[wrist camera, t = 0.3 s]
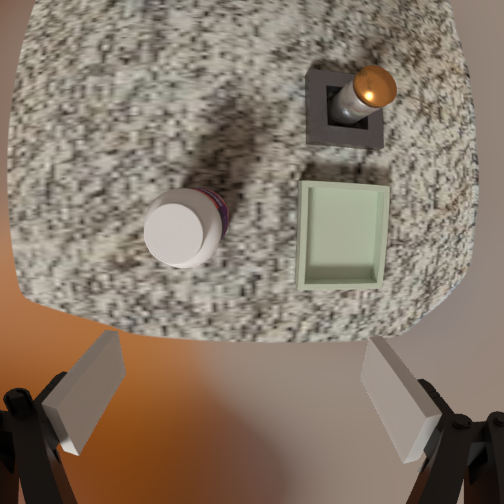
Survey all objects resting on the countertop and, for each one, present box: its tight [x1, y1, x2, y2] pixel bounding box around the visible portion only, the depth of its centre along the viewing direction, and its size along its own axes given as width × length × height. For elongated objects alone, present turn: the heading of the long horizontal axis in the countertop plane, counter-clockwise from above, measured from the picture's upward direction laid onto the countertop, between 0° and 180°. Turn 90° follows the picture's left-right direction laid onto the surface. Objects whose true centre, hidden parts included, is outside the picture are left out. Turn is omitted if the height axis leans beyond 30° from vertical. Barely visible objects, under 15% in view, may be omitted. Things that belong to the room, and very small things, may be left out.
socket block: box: [305, 69, 384, 150], centre depth 36 cm, size 10×10×3 cm
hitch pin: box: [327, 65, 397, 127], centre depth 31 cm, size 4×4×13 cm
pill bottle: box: [144, 188, 229, 268], centre depth 33 cm, size 8×8×14 cm
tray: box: [295, 181, 390, 290], centre depth 39 cm, size 14×12×3 cm
